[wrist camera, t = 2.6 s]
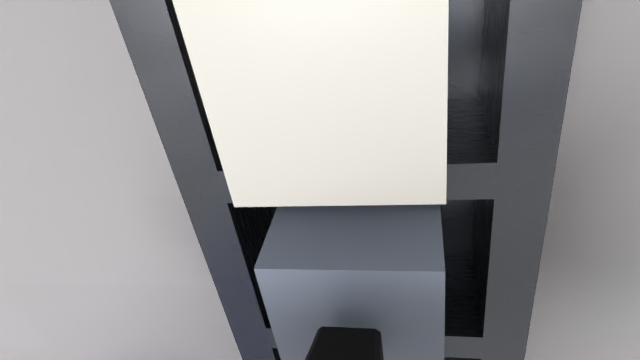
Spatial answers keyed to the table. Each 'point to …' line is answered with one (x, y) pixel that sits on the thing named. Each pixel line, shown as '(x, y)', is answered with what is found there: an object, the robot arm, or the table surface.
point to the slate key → (356, 276)
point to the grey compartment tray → (462, 166)
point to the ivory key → (324, 98)
